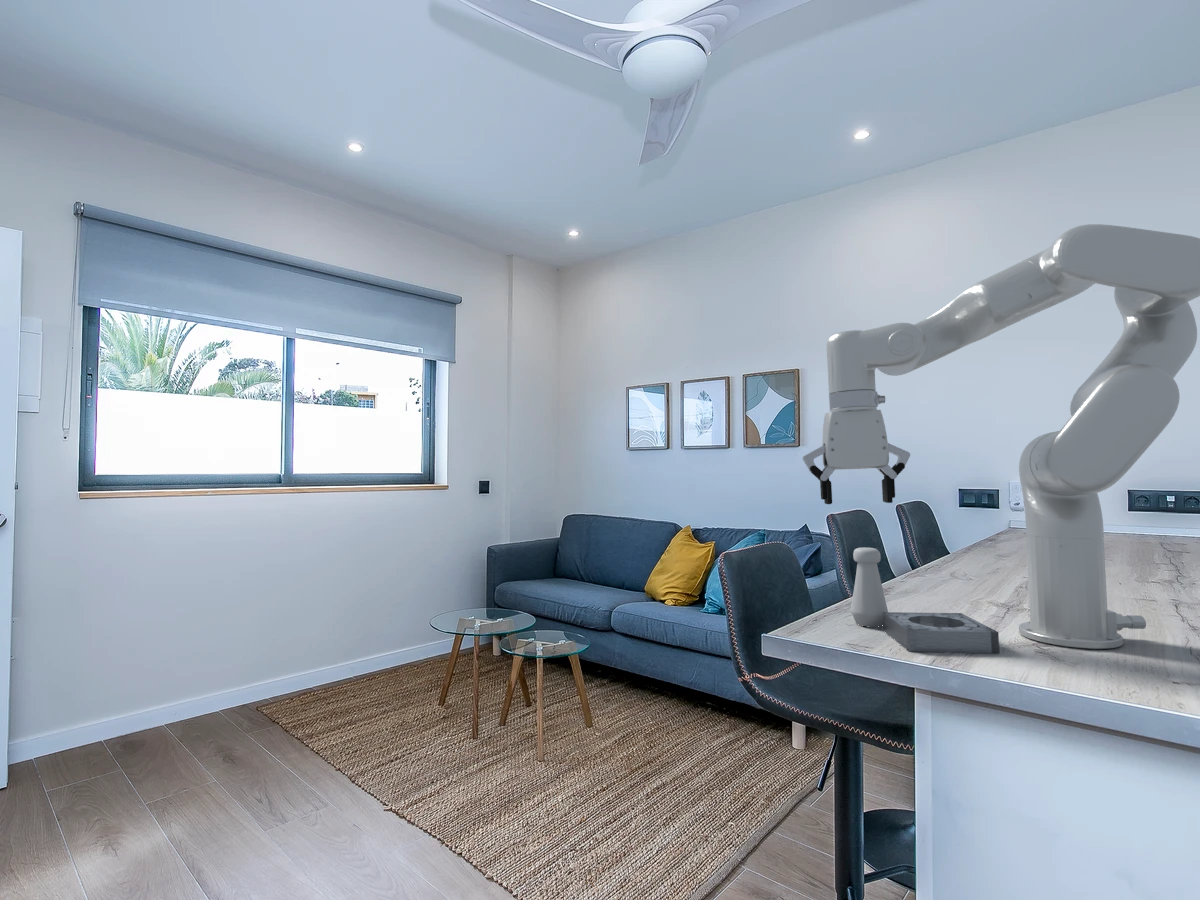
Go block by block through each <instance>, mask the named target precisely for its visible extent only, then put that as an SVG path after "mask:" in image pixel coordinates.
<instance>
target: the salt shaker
mask: <svg viewBox="0 0 1200 900" xmlns="http://www.w3.org/2000/svg"><path fill="white" fill-rule="evenodd" d="M852 555H853V556H852V557H853V560H854V562H856V563H857V564H856V571H855V572H856V574H855V581H854V588H853V593H852V599H851V605H850V611H851V615H852V618H853V619H854V621H855V624H856V625H857V624H859V625H863V626H869V627H868V628H872V627H877V628H879V627H878V626H881V627H883V626H882V625H883V613H882V612H889V610H888V606H887V601H886V597H885V594H884V593H885V592H884V588H883V584H882V580H881V575H880V571H879V568H878V567H879V566H878V563H880V562H881V557H882V555H881V551H879V550H878V548H874V547H858V548H855V549H854V550H853V553H852ZM859 625H858V626H859ZM863 626H862V627H863Z"/></svg>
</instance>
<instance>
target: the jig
mask: <svg viewBox="0 0 1200 900" xmlns="http://www.w3.org/2000/svg"><path fill="white" fill-rule="evenodd" d="M882 613H883V626H882V631H883V630H884V631H885V632H886V635H888V636H889V635H890V636H891V637H890V636H889V637H890V638H891V639H893V640H894V639H895V640H896V643H898V644H899V645H900V644H901V645H900V646H902V647H903V648H904V649H905V648H906V649H905V650H906V651H908V652H909V653H911V652H912V653H917V652H918V653H951V654H952V653H953V654H954V653H955V654H956V653H957V654H958V653H960V654H961V653H962V654H963V653H965V654H967V653H968V654H998V653H999V654H1000V640H999V634H1000V633H999V631H998V630H996V629H993V628H991V627H990V626H988V625H985V624H984V623H981V622H979V621H977V620H975V619H973V618H971V617H969V616H967V614H964V613H961V612H907V611H906V612H900V611H899V612H898V611H897V612H896V611H895V612H894V611H893V612H892V611H888V612H882ZM884 631H883V632H884ZM885 632H884V633H885ZM895 640H894V641H895Z"/></svg>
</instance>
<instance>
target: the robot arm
mask: <svg viewBox="0 0 1200 900" xmlns="http://www.w3.org/2000/svg"><path fill="white" fill-rule="evenodd" d="M1095 284H1097V285H1102V286H1106V287H1113V288H1114V290H1113V298H1114V301H1115V305H1116V307H1117V309H1118V311H1119V312H1120V316H1121V317H1122V321H1123V330H1122V332H1121V333H1122V334H1121V336H1120V337H1119V339H1118V340H1117V342H1116V343H1115V344H1114V346H1113V347H1112V349H1111V350H1110V352H1109V353H1108V354H1106V356H1105V357H1104V359H1103V360H1102V361H1101V362H1100V363H1099V365H1098V366H1097V367H1096V368H1095V369H1094V371H1093V372H1092V373H1091V374H1090V375H1089V376H1088V377H1087V378H1086V380H1085V381H1084V382H1083V383H1082V384H1081V385H1080V386H1079V387H1078V388H1077V390H1076V391H1075V393H1074V395H1073V396H1072V399H1071V401H1070V405H1069V406H1070V407H1069V409H1070V410H1069V411H1070V415H1071V417H1069V419H1068V420H1067V422H1065V424H1064V425H1063V427H1061V429H1060V430H1057V431H1053V432H1047V433H1044V434H1041V435H1039V436H1037V437H1035V438H1034V439H1033V440H1031V441H1029V443H1028V444H1027V445H1026V446H1025V447H1024V449H1023V451H1022V452H1021V454H1020V458H1019V462H1018V471H1019V472H1018V473H1019V479H1020V480H1019V482H1020V486H1021V487H1020V488H1021V491H1022V497H1023V504H1024V514H1025V532H1026V533H1025V539H1026V543H1025V544H1026V559H1027V560H1026V562H1027V580H1028V581H1027V582H1028V600H1029V601H1028V603H1029V619H1030V621H1025V622H1022V623H1020V624H1019V625H1018V630H1019V631H1018V632H1019V633H1020V635H1021V636H1023V637H1025V638H1028V639H1030V640H1033V641H1037V642H1041V643H1044V644H1050V645H1055V646H1062V647H1069V648H1078V649H1079V648H1080V649H1094V650H1095V649H1096V650H1097V649H1099V650H1100V649H1101V650H1103V649H1104V650H1105V649H1115V648H1119V647H1121V646H1123V644H1124V638H1123V637H1124V636H1122V634H1120V633H1118V631H1122V630H1123V629H1130V630H1133V629H1135V630H1139V629H1140V630H1144V629H1145V628H1146V626H1147V622H1146V619H1145V617H1143V615H1128V614H1127V615H1123V614H1122V613H1118V612H1116V611H1113V610H1111V609H1108V593H1107V577H1106V561H1105V560H1106V559H1105V557H1106V556H1105V542H1104V541H1105V540H1104V539H1105V533H1104V530H1105V529H1104V520H1103V519H1104V518H1103V512H1102V511H1103V510H1102V506H1101V501H1100V497H1099V494H1098V493H1101V492H1103V491H1106V490H1108V489H1109V488H1111V487H1112V486H1114V485H1115V484H1116V483H1117V482H1119V480H1120V479H1121V478H1123V476H1125V475H1126V474H1127V472H1129V470H1130V469H1131V468H1132V467H1133V466H1134V464H1136V462H1137V461H1138V460H1140V458H1141V457H1142V455H1143V454H1144V453H1145V452H1146V451H1147V450H1148V449H1149V447H1150V446H1151V445H1152V444H1153V443H1154V442H1155V440H1156V439H1157V438H1158V437H1159V436H1160V435H1161V433H1162V432H1163V431H1164V430H1165V428H1167V426H1168V425H1169V424H1170V423H1171V421H1172V420H1173V418H1174V417H1175V414H1176V412H1177V410H1178V407H1179V404H1180V398H1181V397H1180V395H1181V394H1180V388H1179V385H1178V383H1177V382H1176V380H1175V377H1176V376H1177V374H1178V373H1179V372H1180V370H1182V368H1183V366H1184V365H1185V363H1187V361H1188V360H1189V359H1190V357H1191V356H1192V353H1193V351H1194V349H1195V347H1196V346H1197V340H1198V327H1197V322H1196V317H1195V315H1194V312H1193V308H1191V305H1190V304H1189V302H1190V301H1193V300H1195V299H1197V298H1199V297H1200V238H1199V237H1197V236H1192V235H1187V234H1182V233H1181V234H1180V233H1173V232H1165V231H1157V230H1151V229H1143V228H1136V227H1130V226H1120V225H1113V224H1101V223H1100V224H1099V223H1098V224H1083V225H1078V226H1077V225H1076V226H1074V227H1072V228H1070V229H1068V230H1066V231H1064V232H1063V233H1062V234H1061V235H1060V236H1058V237H1057V239H1056V240H1054V242H1052V243H1051V245H1050V246H1049V247H1047V248H1045V249H1044V250H1042V251H1040V252H1038V253H1035V254H1033V255H1032V256H1029V257H1028V258H1025V259H1024V260H1022V261H1020V262H1018V263H1016V264H1013V265H1011V266H1009V267H1007V268H1005V269H1003V270H1001V271H999V272H996V273H995V274H993V275H990V276H989V277H987V278H984V279H982V280H980V281H978V282H976V283H974V284H973V285H971V286H969V287H968V288H966V289H965V290H963V292H961V293H960V294H959V295H957V296H956V297H955V298H954V299H952V300H951V301H950V302H949V303H948V304H946V305H945V306H944V307H943V308H941V309H939V310H938V311H936V312H934V313H933V314H931V315H930V316H928V317H926V318H924V319H922V320H920V321H919V322H916V323H915V324H914V323H909V322H895V323H891V324H887V325H883V326H879V327H875V328H871V329H866V330H861V329H859V330H857V329H854V330H845V331H840V332H836V333H834V334H831V335H830V336H829V338H828V339H827V340H826V359H827V360H826V362H827V382H828V398H829V399H828V403H829V411H828V412H827V413H824V418H823V425H822V426H823V427H822V443H821V444H822V445H821V446H820V447H818V448H816V449H814V450H812V451H811V452H808V453H807V454H805V455H803V456H802V461H803V462H804V464H805V466H806V468H807V469H808V471H809V472H810V474H812V475H813V476H815V478H816V479H817V480H819V483H820V484H819V485H820V486H819V487H820V499H821V500H824V501H823V502H824V504H825V505H832V504H833V491H832V490H833V489H832V481H831V480H830V477H831V475H833V473H834V472H835V471H836V470H857V469H858V470H862V469H863V470H866V469H877V470H878V472H880V474H882V476H883V479H881V491H882V492H881V493H882V502H883V503H887V504H892V503H893V502H894V501H893V499H894V498H895V497H896V487H895V486H896V485H895V484H896V483H895V479H897V478H898V475H899V474H900V473H902V472H903V471H904V469H905V468H906V465H907V462H909V459H910V458H911V453H910V452H909V451H908V450H905V449H902V448H901V447H898V446H896V445H893V444H891V443H890V442H888V435H887V430H886V424H885V419H884V417H883V413H882V410H881V409H877V408H878V406H879V405H881V404H885V403H886V396H885V395H880V394H878V391H876V389H877V387H876V373H875V372H876V369H878V371H880V372H881V373H883V374H884V375H887V376H894V377H895V376H898V377H899V376H903V375H906V374H908V373H910V372H914V371H915V370H917V369H920V368H923V367H924V366H927V365H928V364H930V363H933V362H934V361H938V360H939V359H941V358H943V357H946V356H947V355H950V354H952V353H954V352H956V351H958V350H960V349H962V348H964V347H966V346H969V345H971V344H974V343H976V342H978V341H981V340H983V339H986V338H987V337H989V336H991V335H993V334H995V333H997V332H999V331H1001V330H1003V329H1006V328H1007V327H1008V328H1009V327H1010V326H1013V325H1014V324H1016V323H1018V322H1021V321H1022V320H1025V319H1027V318H1029V317H1031V316H1033V315H1035V314H1037V313H1040V312H1042V311H1044V310H1046V309H1049V308H1052V307H1053V306H1056V305H1058V304H1060V303H1063V302H1065V301H1067V300H1069V299H1071V298H1074V297H1076V296H1078V295H1079V294H1081V293H1083V292H1085V291H1086V290H1088V289H1089V288H1091V287H1093V285H1095ZM890 454H892V455H893V456H896V457H897V461H896V463H895V464H894V465H892V467H891V466H890V465H889V464H890V463H889V462H890ZM821 455H822V465H823V467H824V468H823V469H822V470H821V469H820V468H819V467H818V466H817V465H816V464H815V462H814V460H815V459H816V458H818V457H820V456H821ZM895 499H896V498H895Z"/></svg>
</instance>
